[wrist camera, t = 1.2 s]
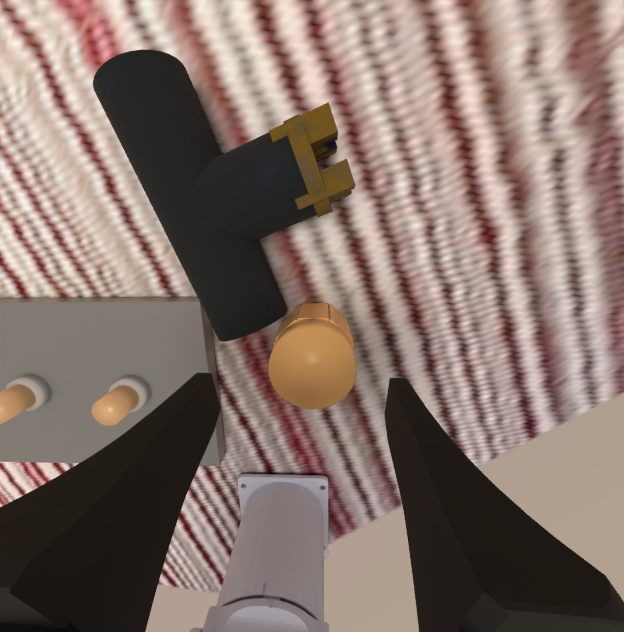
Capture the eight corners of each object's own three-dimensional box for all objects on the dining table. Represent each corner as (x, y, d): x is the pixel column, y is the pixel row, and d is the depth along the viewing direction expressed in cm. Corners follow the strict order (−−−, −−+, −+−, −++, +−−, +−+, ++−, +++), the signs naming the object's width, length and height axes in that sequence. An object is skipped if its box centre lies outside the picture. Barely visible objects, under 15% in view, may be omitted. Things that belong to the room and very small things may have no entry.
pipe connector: (283, -45, 12) (388, 284, 16) (296, 36, 17) (374, 271, 21) (66, 80, 14) (206, 350, 18) (136, 121, 19) (233, 323, 23)
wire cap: (347, 365, 23) (355, 409, 17) (284, 364, 23) (270, 408, 17) (348, 302, 21) (358, 328, 16) (281, 303, 22) (265, 328, 16)
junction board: (225, 452, 25) (205, 497, 21) (9, 448, 26) (-54, 491, 22) (208, 297, 22) (179, 312, 17) (-45, 298, 22) (-133, 313, 18)
